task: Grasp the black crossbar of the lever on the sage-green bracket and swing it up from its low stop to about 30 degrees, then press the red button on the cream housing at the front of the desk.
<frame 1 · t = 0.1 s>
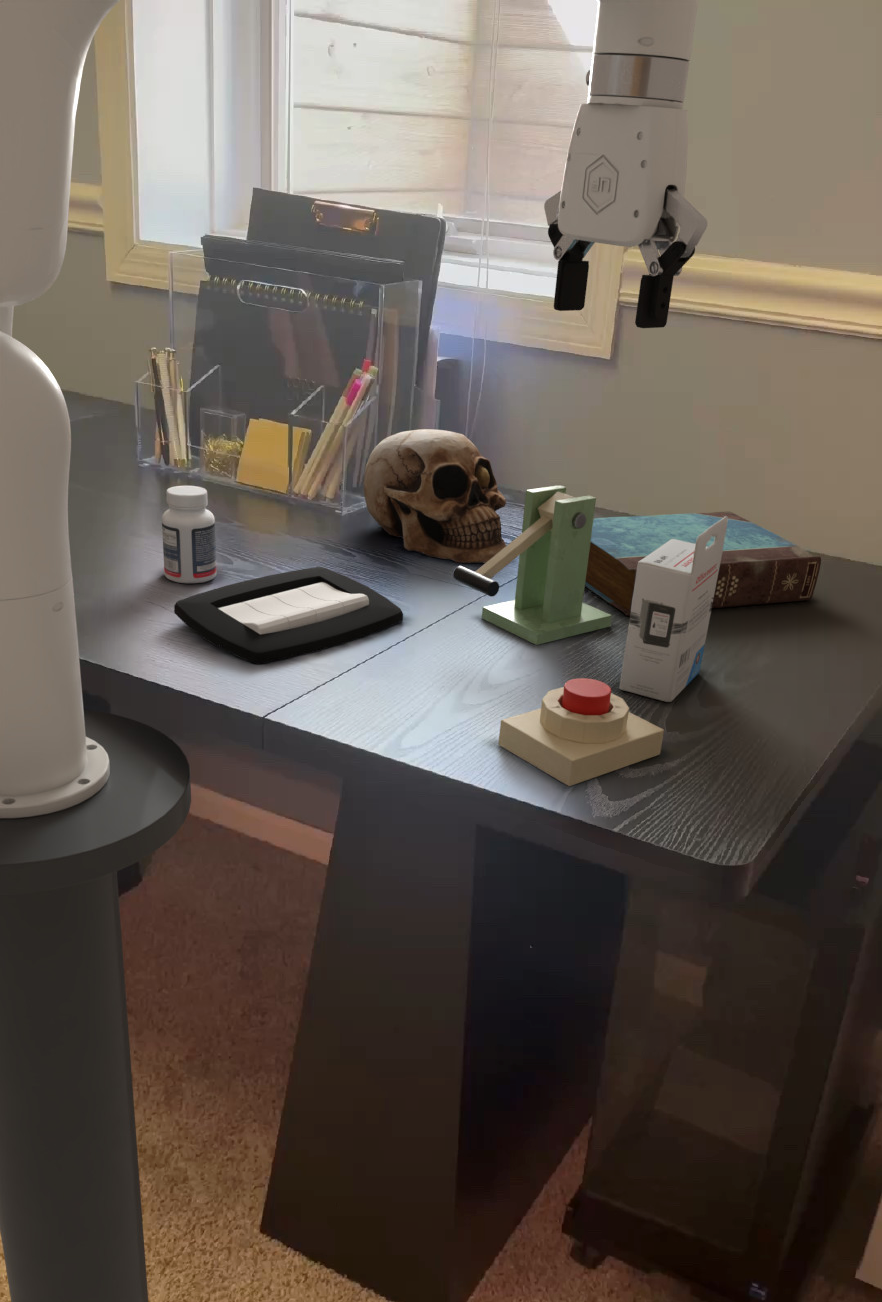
hand: (608, 318, 102), 29 cm above the table, tool pointing down, fingers open, 9 cm apart
ink box: (659, 683, 107), on the table
button: (586, 697, 91), point 4 cm above the table, slide at 0.1 cm
pill bottle: (190, 578, 123), on the table
bracket: (546, 622, 118), on the table
book: (678, 583, 132), on the table
button box: (579, 749, 93), on the table
light switch: (290, 624, 113), on the table
human skull model: (437, 542, 139), on the table
lever: (520, 544, 111), point 9 cm above the table, hinge at -28.0°
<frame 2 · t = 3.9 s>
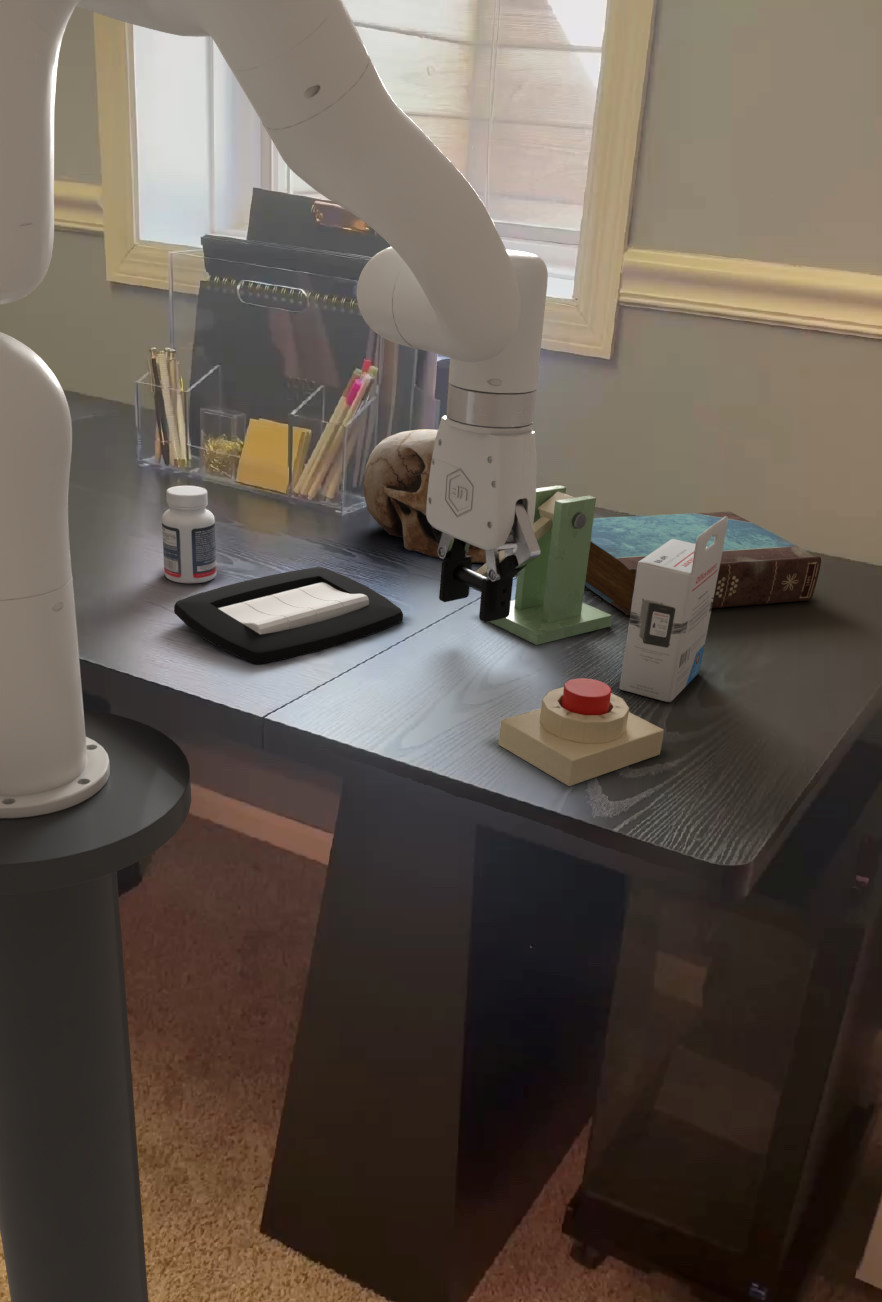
hand: (473, 606, 111), 3 cm above the table, tool pointing down, fingers closed on lever, 5 cm apart
lever: (520, 544, 111), point 9 cm above the table, hinge at -28.0°, touching gripper
everything else where it was.
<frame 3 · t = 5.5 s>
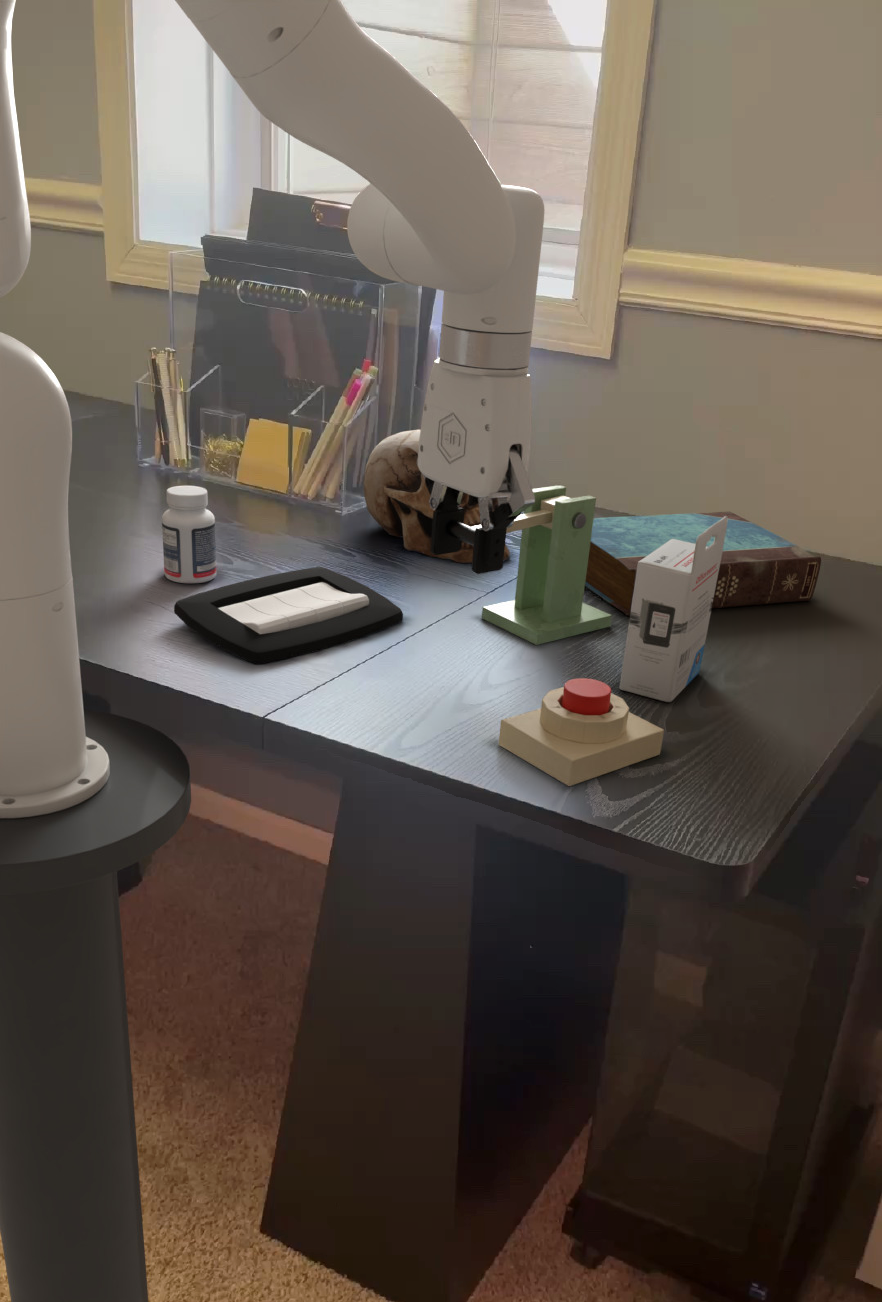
hand: (466, 559, 108), 8 cm above the table, tool pointing down, fingers closed on lever, 5 cm apart
lever: (517, 522, 110), point 11 cm above the table, hinge at -3.4°, touching gripper
everything else where it was.
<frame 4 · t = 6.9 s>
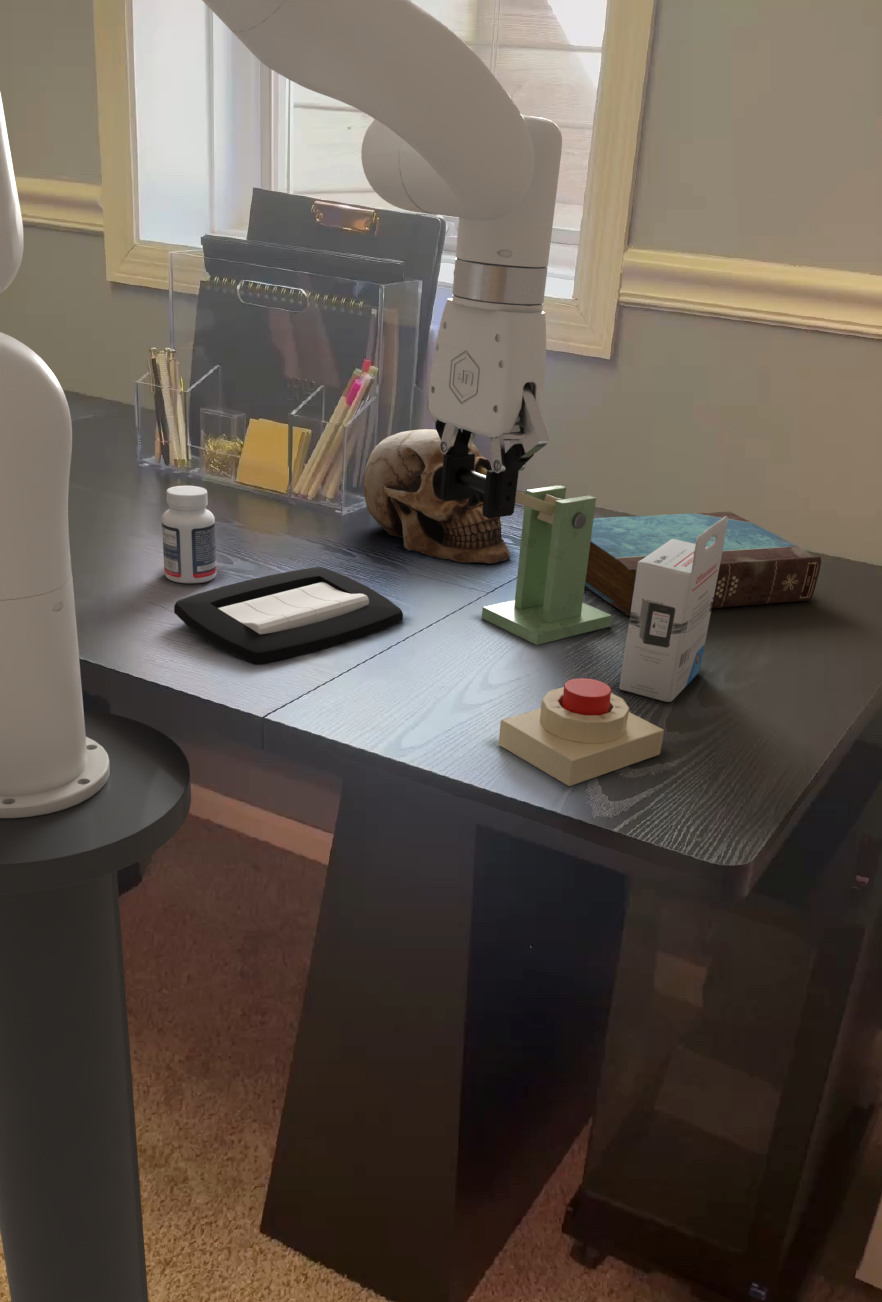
hand: (476, 505, 106), 13 cm above the table, tool pointing down, fingers closed on lever, 5 cm apart
lever: (523, 499, 109), point 13 cm above the table, hinge at 21.2°, touching gripper
everything else where it was.
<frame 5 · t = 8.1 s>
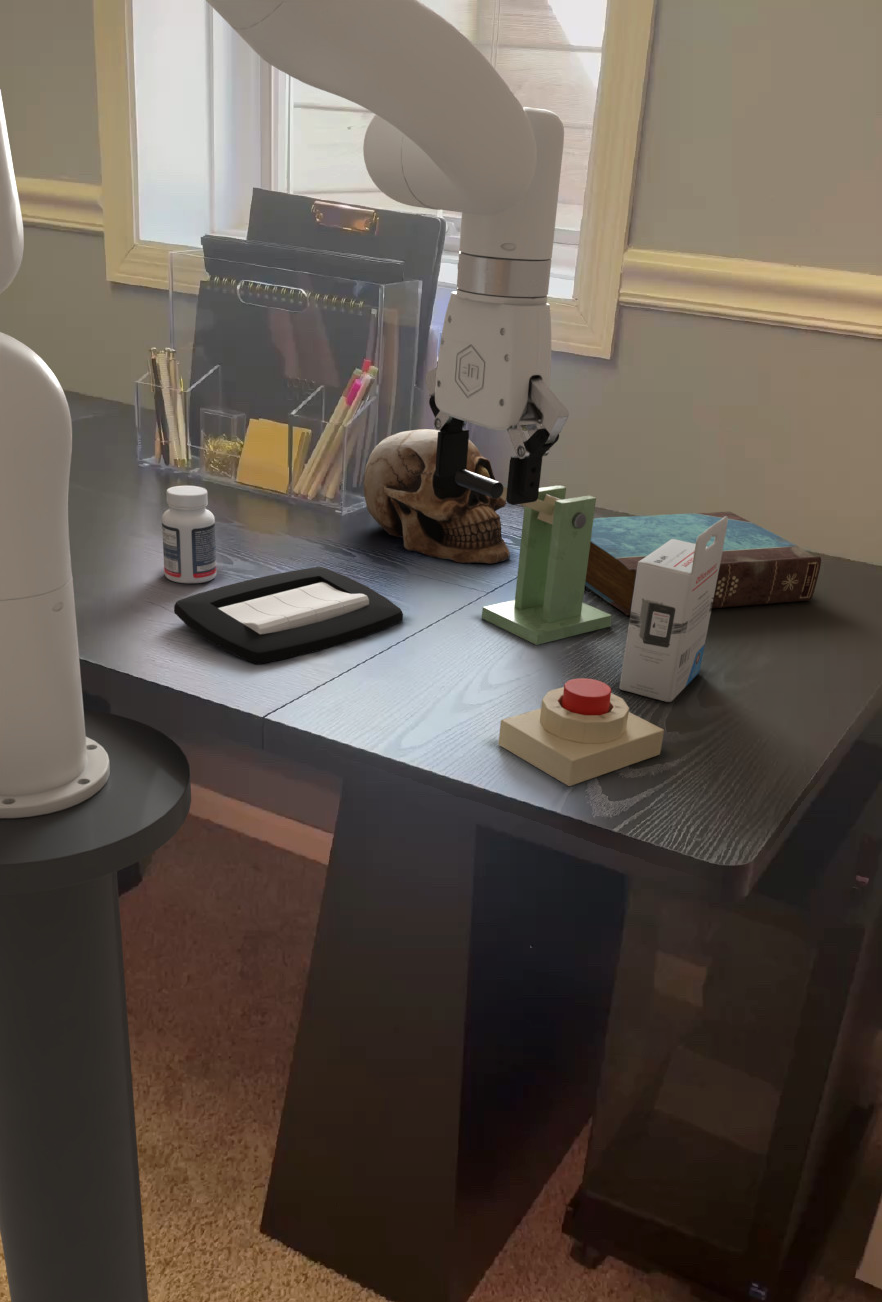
hand: (485, 488, 106), 14 cm above the table, tool pointing down, fingers open, 9 cm apart
lever: (522, 499, 109), point 13 cm above the table, hinge at 20.6°
everything else where it was.
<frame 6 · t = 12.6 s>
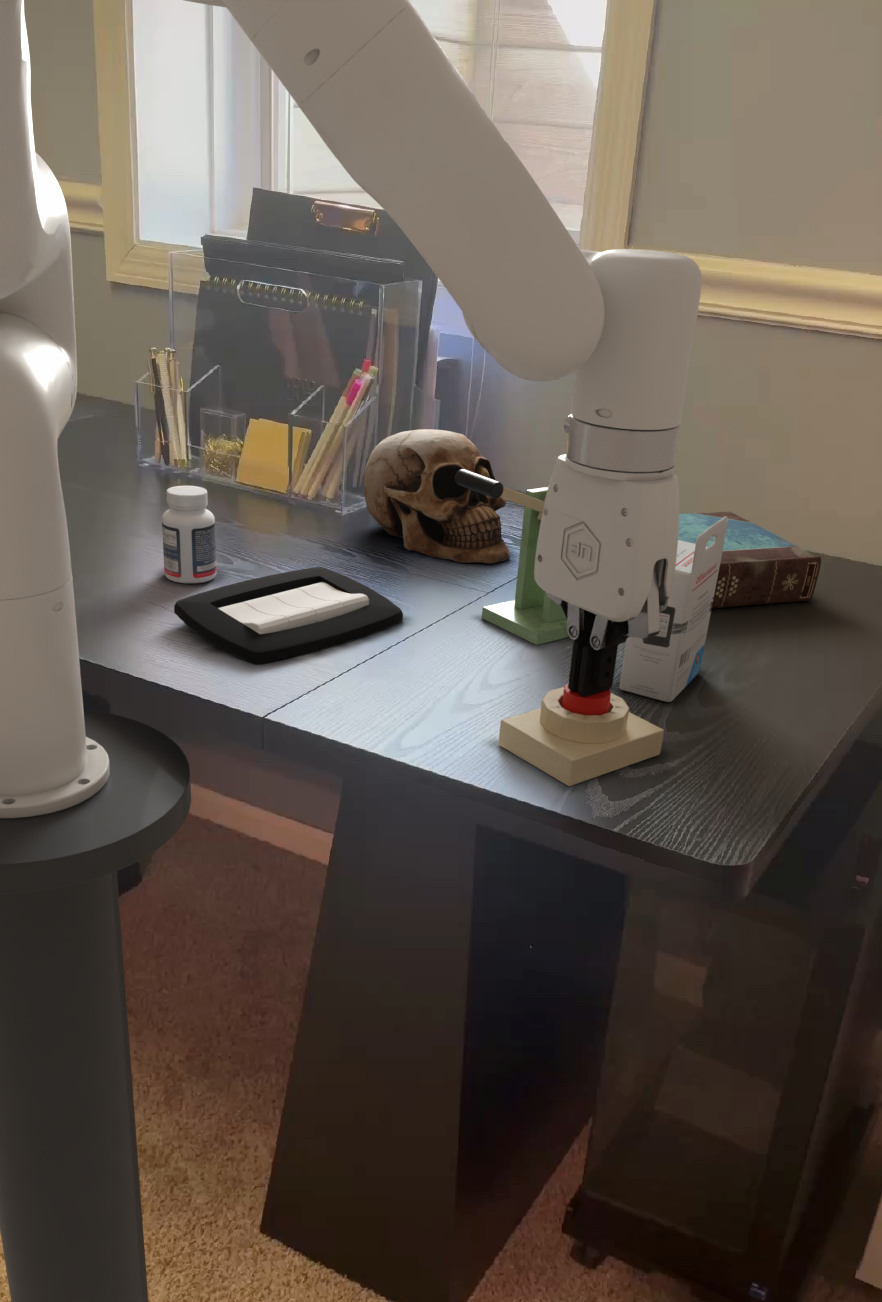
hand: (589, 689, 91), 5 cm above the table, tool pointing down, fingers closed
button: (586, 700, 91), point 4 cm above the table, slide at -0.1 cm, touching gripper
everything else where it was.
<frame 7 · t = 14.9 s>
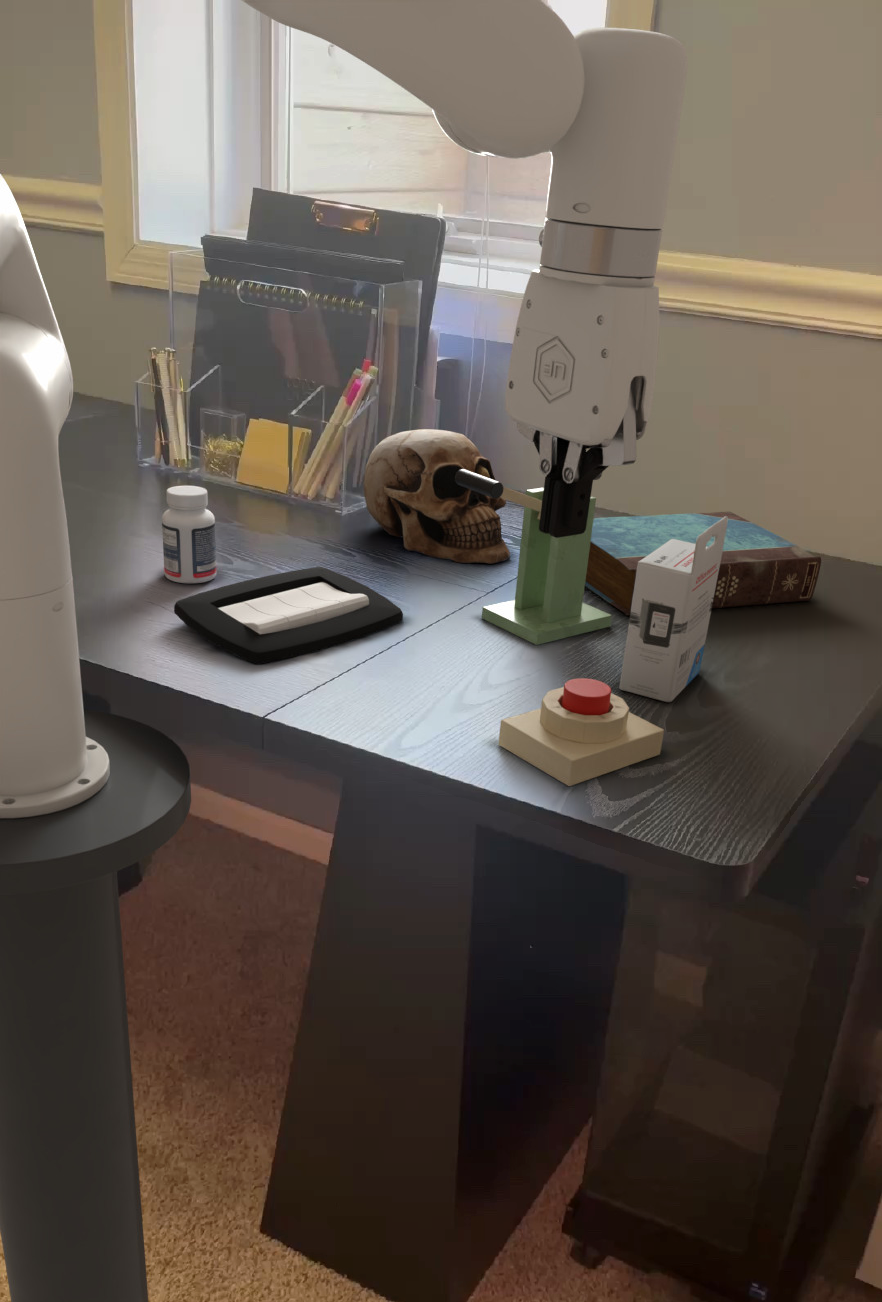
hand: (562, 532, 86), 17 cm above the table, tool pointing down, fingers closed
button: (586, 697, 91), point 4 cm above the table, slide at 0.1 cm
everything else where it was.
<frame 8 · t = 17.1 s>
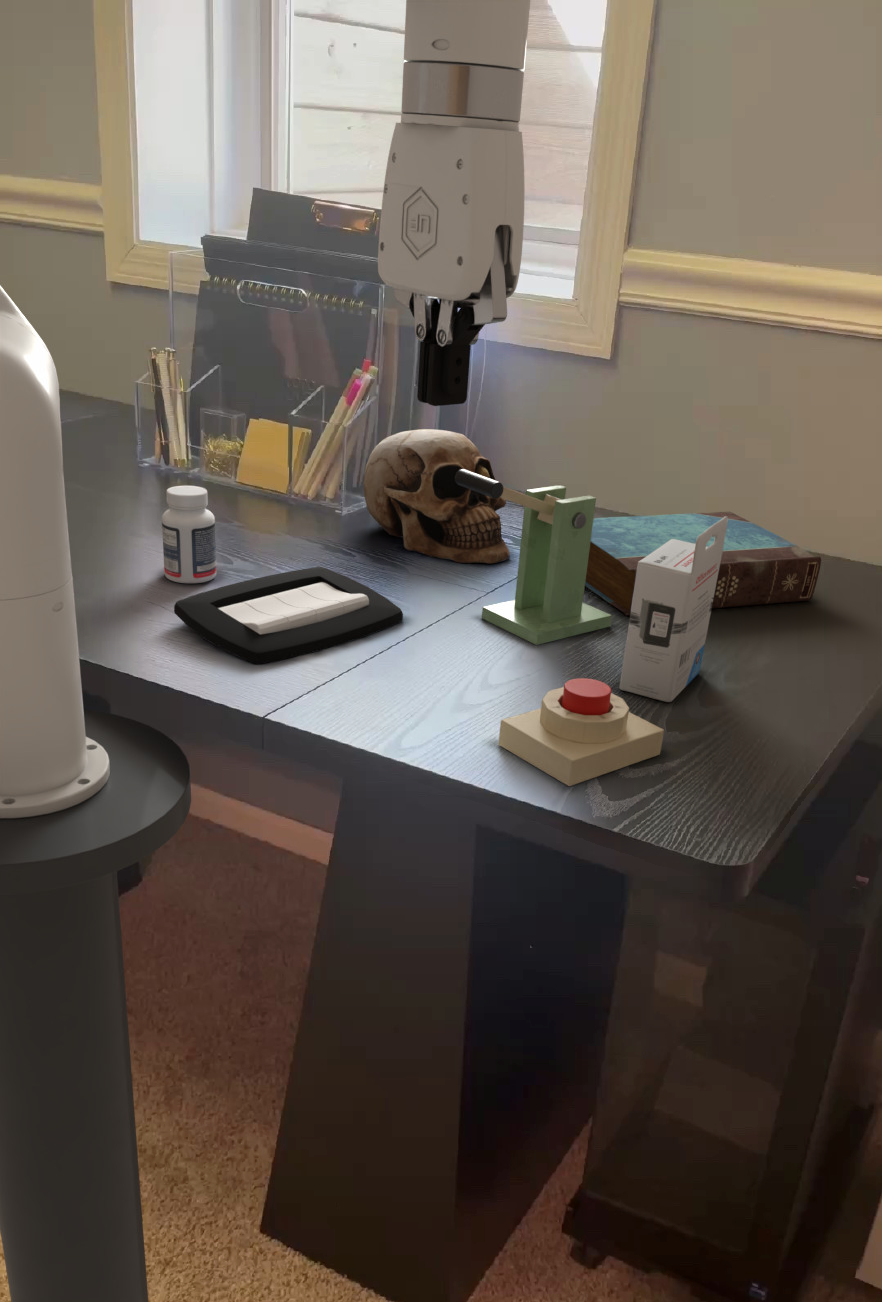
hand: (441, 401, 84), 25 cm above the table, tool pointing down, fingers closed
nothing on the table moved.
at the end: lever at +21° (first picture: -28°); button pushed in 1.1 cm at the most during the clip, back to where it started at the end; button slide at 0.1 cm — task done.
